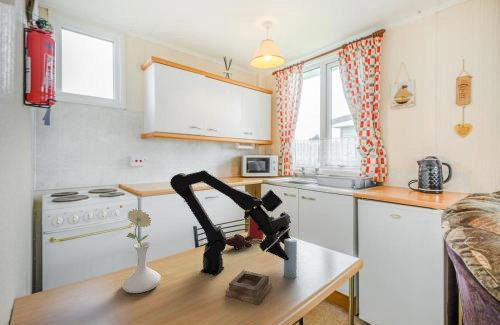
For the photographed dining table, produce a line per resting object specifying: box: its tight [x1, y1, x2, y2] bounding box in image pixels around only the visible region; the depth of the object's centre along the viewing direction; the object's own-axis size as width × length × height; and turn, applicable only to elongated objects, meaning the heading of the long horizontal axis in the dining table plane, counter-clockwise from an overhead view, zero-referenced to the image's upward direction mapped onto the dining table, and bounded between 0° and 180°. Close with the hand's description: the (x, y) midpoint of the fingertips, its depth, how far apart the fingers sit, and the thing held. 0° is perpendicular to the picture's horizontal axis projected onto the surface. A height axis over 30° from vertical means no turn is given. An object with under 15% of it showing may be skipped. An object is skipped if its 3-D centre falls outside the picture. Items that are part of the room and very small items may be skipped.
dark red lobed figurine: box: [226, 233, 253, 250], centre depth 109 cm, size 7×7×15 cm
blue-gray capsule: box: [283, 238, 298, 279], centre depth 85 cm, size 4×4×12 cm
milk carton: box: [246, 207, 266, 241], centre depth 124 cm, size 9×9×20 cm
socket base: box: [224, 269, 273, 306], centre depth 75 cm, size 11×11×4 cm
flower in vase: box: [121, 208, 162, 294], centre depth 77 cm, size 13×11×25 cm
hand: (291, 254), depth 84 cm, fingers open, 9 cm apart
